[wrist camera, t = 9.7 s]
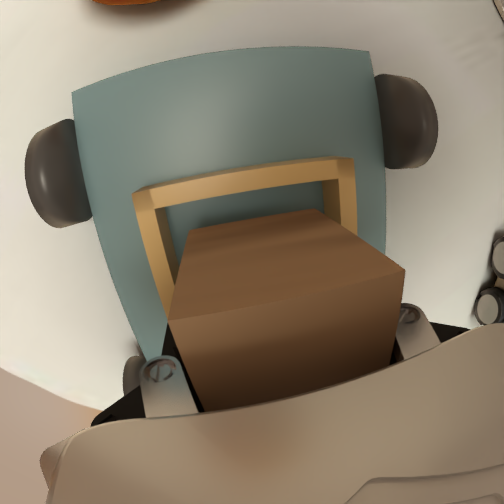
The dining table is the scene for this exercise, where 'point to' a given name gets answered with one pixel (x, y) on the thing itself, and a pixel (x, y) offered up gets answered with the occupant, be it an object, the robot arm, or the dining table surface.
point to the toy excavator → (493, 291)
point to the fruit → (124, 2)
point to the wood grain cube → (281, 308)
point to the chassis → (223, 158)
